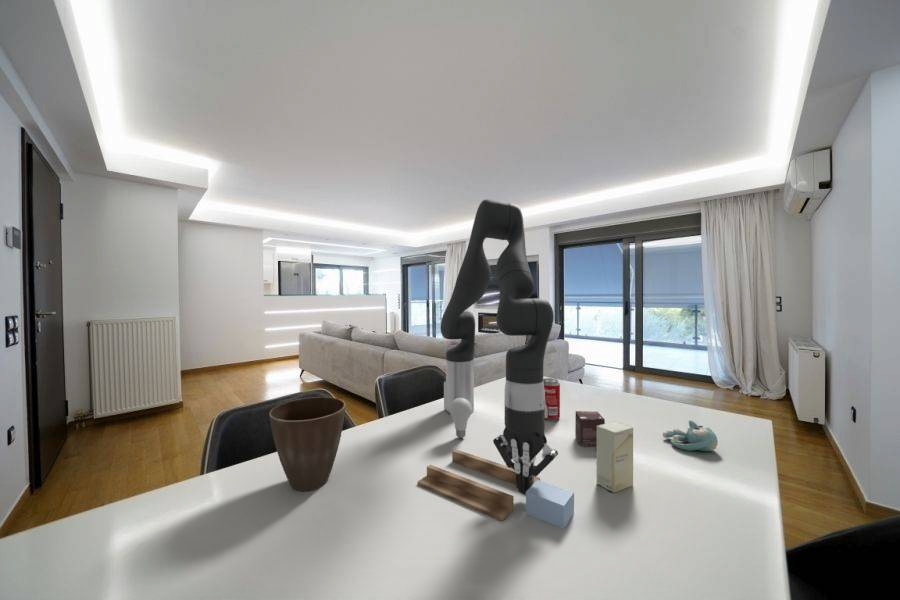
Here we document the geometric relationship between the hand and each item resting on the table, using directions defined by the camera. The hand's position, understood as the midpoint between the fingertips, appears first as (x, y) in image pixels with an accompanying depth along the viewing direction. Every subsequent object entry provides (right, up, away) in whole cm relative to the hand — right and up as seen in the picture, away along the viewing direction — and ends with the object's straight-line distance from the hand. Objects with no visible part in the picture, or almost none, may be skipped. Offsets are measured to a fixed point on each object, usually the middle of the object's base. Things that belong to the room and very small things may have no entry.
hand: (524, 491), depth 68 cm
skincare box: (+20, -2, +5) cm, 21 cm away
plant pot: (-44, -2, +7) cm, 45 cm away
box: (+23, -1, +26) cm, 34 cm away
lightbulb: (-11, -1, +29) cm, 31 cm away
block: (+4, -2, -4) cm, 6 cm away
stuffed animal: (+47, -1, +23) cm, 53 cm away
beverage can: (+17, 0, +44) cm, 47 cm away
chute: (-8, -1, +6) cm, 10 cm away
